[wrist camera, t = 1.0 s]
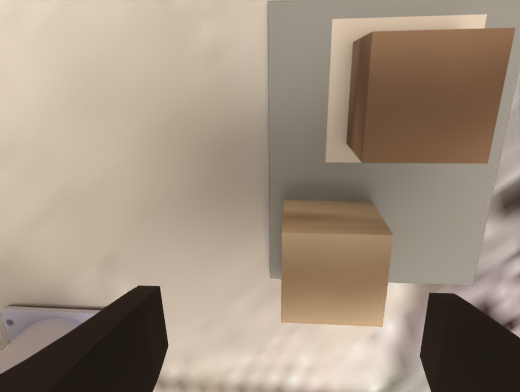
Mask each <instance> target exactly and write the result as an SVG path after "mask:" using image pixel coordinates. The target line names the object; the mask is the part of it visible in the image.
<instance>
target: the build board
mask: <svg viewBox="0 0 520 392" xmlns="http://www.w3.org/2000/svg"><path fill="white" fill-rule="evenodd" d="M481 28H515V33H514V38H513V43H512V48H511V53H510V58H509V63H508V67H507V72H506V77H505V82H504V87H503V92H502V97H501V102H500V107H499V112H498V117H497V121H496V126H495V131H494V136H493V141H492V146H491V151H490V156H489V161H488V164H462V163H362V162H361V161H360V160H359V159H358V157H357V156H356V155H355V154H354V152H353V151H352V150H351V149H350V147H349V146H348V145H347V144H346V141H347V126H348V110H349V95H350V80H351V65H352V50H353V42H354V41H356V40H358V39H360V38H362V37H363V36H365V35H367V34H369V33H371V32H373V31H409V30H445V29H481ZM268 45H269V179H270V278H278V279H282V222H283V207H284V200H318V201H372V202H373V204H374V205H375V207H376V208H377V210H378V211H379V213H380V215H381V216H382V218H383V219H384V221H385V223H386V224H387V226H388V227H389V229H390V230H391V232H392V234H393V243H392V252H391V260H390V268H389V276H388V282H394V283H423V284H452V285H473V282H474V278H475V273H476V268H477V264H478V259H479V254H480V250H481V245H482V240H483V236H484V231H485V226H486V222H487V217H488V212H489V208H490V203H491V198H492V194H493V189H494V184H495V180H496V175H497V170H498V166H499V161H500V156H501V152H502V147H503V142H504V138H505V133H506V128H507V124H508V119H509V114H510V110H511V105H512V100H513V96H514V91H515V86H516V82H517V77H518V72H519V68H520V0H283V1H268Z"/></svg>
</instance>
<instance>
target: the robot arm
mask: <svg viewBox="0 0 520 392" xmlns="http://www.w3.org/2000/svg"><path fill="white" fill-rule="evenodd" d="M1 317H2V320H3V323H4V326H5V329H6V333H7V336H8V339H9V342H10V344H9V345H8V346H7V347H6V348H5V349H4V350H2V351H1V352H0V392H153V389H154V387H155V385H156V383H157V380H158V377H159V374H160V371H161V368H162V365H163V362H164V358H165V355H166V352H167V349H168V340H167V333H166V326H165V319H164V312H163V305H162V298H161V291H160V286H137V287H136V288H134V289H132V290H131V291H129V292H128V293H126V294H125V295H123V296H122V297H120V298H119V299H117V300H116V301H114V302H113V303H111V304H110V305H108V306H107V307H105V308H104V309H103V310H82V309H59V308H37V307H14V306H9V307H6V308H5V309H4V310H2V312H1ZM420 358H421V361H422V365H423V368H424V371H425V374H426V378H427V381H428V384H429V387H430V389H431V392H520V338H519V337H518V336H516V335H515V334H513V333H512V332H511V331H509V330H508V329H506V328H505V327H503V326H502V325H500V324H499V323H498V322H496V321H495V320H493V319H492V318H490V317H489V316H487V315H486V314H485V313H483V312H482V311H480V310H479V309H477V308H476V307H474V306H473V305H471V304H470V303H468V302H467V301H465V300H464V299H462V298H461V297H459V296H457V295H456V294H452V293H429V299H428V306H427V312H426V319H425V326H424V332H423V339H422V346H421V352H420Z"/></svg>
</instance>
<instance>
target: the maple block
mask: <svg viewBox="0 0 520 392" xmlns="http://www.w3.org/2000/svg"><path fill="white" fill-rule="evenodd" d="M392 243H393V234H392V232H391V230H390V229H389V227H388V226H387V224H386V223H385V221H384V219H383V218H382V216H381V215H380V213H379V211H378V210H377V208H376V207H375V205H374V204H373V202H372V201H318V200H284V207H283V222H282V294H281V322H288V323H310V324H332V325H354V326H376V327H382V326H383V318H384V310H385V301H386V293H387V285H388V276H389V268H390V260H391V252H392Z"/></svg>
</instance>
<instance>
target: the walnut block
mask: <svg viewBox="0 0 520 392" xmlns="http://www.w3.org/2000/svg"><path fill="white" fill-rule="evenodd" d="M514 33H515V28H481V29H445V30H409V31H373V32H371V33H369V34H367V35H365V36H363V37H362V38H360V39H358V40H356V41H354V42H353V50H352V65H351V80H350V95H349V110H348V126H347V141H346V144H347V145H348V146H349V147H350V149H351V150H352V151H353V152H354V154H355V155H356V156H357V157H358V159H359V160H360V161H361V162H362V163H462V164H488V161H489V156H490V151H491V146H492V141H493V136H494V131H495V126H496V121H497V117H498V112H499V107H500V102H501V97H502V92H503V87H504V82H505V77H506V72H507V67H508V63H509V58H510V53H511V48H512V43H513V38H514Z"/></svg>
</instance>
